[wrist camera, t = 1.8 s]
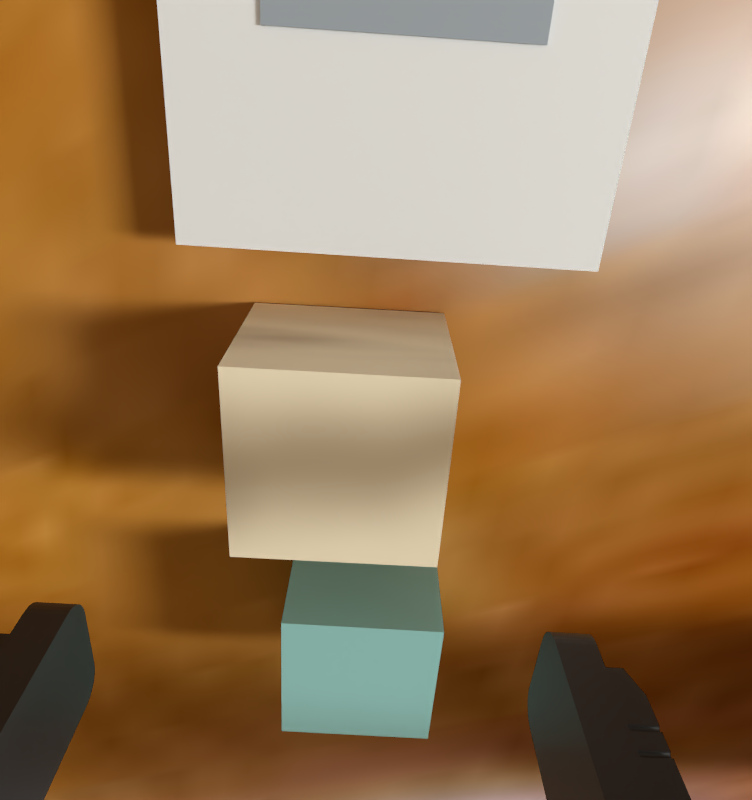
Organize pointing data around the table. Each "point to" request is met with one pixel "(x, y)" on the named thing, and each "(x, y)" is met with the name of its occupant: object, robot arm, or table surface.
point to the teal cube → (360, 649)
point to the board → (402, 125)
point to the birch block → (338, 434)
